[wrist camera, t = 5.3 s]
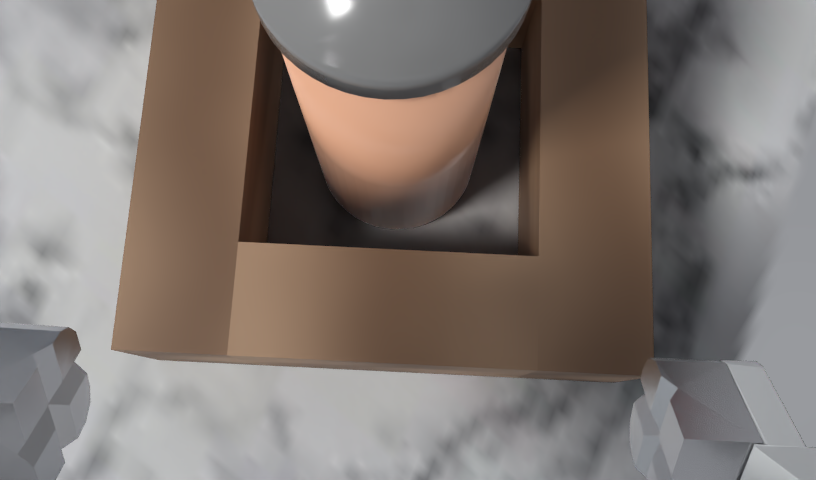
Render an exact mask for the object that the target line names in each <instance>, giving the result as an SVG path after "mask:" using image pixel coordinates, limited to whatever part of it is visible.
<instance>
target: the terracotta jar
mask: <svg viewBox="0 0 816 480" xmlns="http://www.w3.org/2000/svg"><path fill="white" fill-rule="evenodd" d="M252 1H253V4H254V7H255V9H256V12H257V14H258V16H259V19H260V21H261V23H262V26H263V27H264V29H265V31H266V32H267V34H268V35H269V37H270V39H271V40H272V42H273V43H274V44H275V45H276V46H277V48H278V49H279V50H280V51H281V53H282V55H283V58H284V61H285V64H286V67H287V70H288V73H289V76H290V79H291V82H292V84H293V87H294V90H295V93H296V96H297V99H298V102H299V105H300V108H301V111H302V114H303V117H304V120H305V123H306V125H307V128H308V131H309V134H310V137H311V140H312V143H313V146H314V149H315V152H316V155H317V158H318V161H319V164H320V166H321V169H322V172H323V175H324V178H325V181H326V183H327V186H328V188H329V190H330V191H331V193H332V195H333V196H334V198H335V199H336V200H337V202H338V203H339V204H340V205H341V206H342V207H343V208H344V209H345V210H346V211H347V212H349V213H350V214H351V215H353V216H354V217H356V218H357V219H359V220H361V221H363V222H365V223H368V224H370V225H373V226H376V227H381V228H386V229H408V228H414V227H418V226H422V225H425V224H427V223H429V222H432V221H434V220H436V219H437V218H439V217H441V216H442V215H443V214H445V213H446V212H447V211H449V210H450V209H451V208H452V207H453V206H454V205H455V204H456V203H457V201H458V200H459V199H460V197H461V196H462V194H463V193H464V191H465V189H466V187H467V185H468V183H469V180H470V177H471V174H472V170H473V167H474V163H475V160H476V156H477V152H478V149H479V145H480V142H481V138H482V135H483V131H484V128H485V124H486V120H487V117H488V113H489V110H490V106H491V103H492V99H493V96H494V92H495V88H496V85H497V81H498V78H499V74H500V71H501V67H502V63H503V60H504V56H505V53H506V49H507V47H508V45H509V44H510V43H511V41H512V40H513V39H514V37H515V36H516V34H517V32H518V31H519V29H520V27H521V25H522V24H523V22H524V19H525V17H526V14H527V12H528V9H529V7H530V4H531V0H252Z"/></svg>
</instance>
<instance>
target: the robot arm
mask: <svg viewBox="0 0 816 480" xmlns="http://www.w3.org/2000/svg"><path fill="white" fill-rule="evenodd" d="M80 351H81V347H80V344H79V341H78V337H77V334H76V331H74V330H72V329H71V328H69V327H58V326H45V325H32V324H18V323H5V322H1V323H0V480H56V478H57V477H58V475H59V473H60V471H61V469H62V467H63V465H64V463H65V461H64V457H63V454H62V450H61V449H62V448H64V447H65V446H67V445H68V444H70V443H71V442H73V441H74V440H76V439H77V438H78V437H79V435H80V433H81V431H82V429H83V427H84V425H85V423H86V419H87V414H88V410H89V406H90V385H89V380H88V376H87V373H86V372H85V371H84V370H83V369H82V368H81V367H80V366H78V365H77V364H76V363H75V362H74V361H75V359H76V357H77V356H78V354H79V352H80ZM640 380H641V383H642V386H643V389H644V393H645V394H644V395H642V396H641V397H640V398H639V399H637V400H636V401H635V402H634V404H633V409H632V413H631V418H630V432H629V440H630V448H631V455H632V458H633V462H634V466H635V468H636V469H637V470H638V471H639V472H640V473H641V474H642V475H643V476H645V477H646V480H816V448H813V447H806V445H805V444H804V442H803V440H802V438H801V436H800V434H799V432H798V431H797V429H796V427H795V425H794V423H793V421H792V419H791V418H790V416H789V414H788V412H787V410H786V408H785V407H784V405H783V403H782V401H781V399H780V397H779V395H778V394H777V392H776V390H775V388H774V386H773V384H772V382H771V381H770V379H769V377H768V375H767V373H766V371H765V370H764V368H763V366H762V365H761V364H759V363H758V362H757V361H734V360H720V361H712V360H690V359H668V358H648V360H647V361H646V363H645V365H644V367H643V371H642V374H641V378H640Z"/></svg>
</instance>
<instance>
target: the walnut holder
mask: <svg viewBox="0 0 816 480" xmlns="http://www.w3.org/2000/svg"><path fill="white" fill-rule="evenodd" d="M507 48H522V49H521V105H520V161H519V217H518V255H501V254H481V253H460V252H439V251H419V250H398V249H377V248H357V247H336V246H316V245H295V244H274V243H267V239H268V228H269V217H270V206H271V195H272V184H273V173H274V162H275V151H276V140H277V129H278V118H279V107H280V96H281V85H282V74H283V63H284V58H283V55H282V53H281V51H280V50H279V49H278V48H277V46H276V45H275V44H274V43H273V42H272V40H271V39H270V37H269V35H268V34H267V32H266V31H265V29H264V27H263V26H262V23H261V21H260V19H259V16H258V14H257V12H256V9H255V7H254V4H253V1H252V0H157V4H156V12H155V19H154V27H153V35H152V42H151V50H150V57H149V65H148V72H147V80H146V88H145V95H144V103H143V110H142V118H141V126H140V133H139V141H138V148H137V156H136V163H135V171H134V179H133V186H132V194H131V201H130V209H129V217H128V224H127V232H126V239H125V247H124V254H123V262H122V270H121V277H120V285H119V292H118V300H117V308H116V315H115V323H114V330H113V338H112V345H111V350H115V351H120V352H124V353H129V354H134V355H138V356H143V357H148V358H152V359H157V360H170V361H190V362H210V363H231V364H251V365H271V366H291V367H311V368H332V369H352V370H372V371H392V372H412V373H433V374H453V375H473V376H493V377H513V378H534V379H554V380H574V381H594V382H620V381H626V380H633V379H640V378H641V374H642V371H643V367H644V365H645V363H646V361H647V360H648V358H654V336H653V288H652V241H651V193H650V145H649V97H648V49H647V1H646V0H531V4H530V7H529V9H528V12H527V14H526V17H525V19H524V22H523V24H522V25H521V27H520V29H519V31H518V32H517V34H516V36H515V37H514V39H513V40H512V41H511V43H510V44H509V45H508V47H507Z"/></svg>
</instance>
